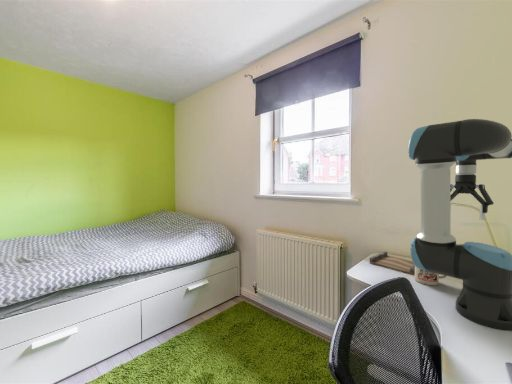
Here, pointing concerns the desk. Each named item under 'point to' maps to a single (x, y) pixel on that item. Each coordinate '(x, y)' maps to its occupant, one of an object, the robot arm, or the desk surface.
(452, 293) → the desk surface
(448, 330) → the desk surface
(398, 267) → the rail board
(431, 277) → the teacup with lid
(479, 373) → the desk surface
